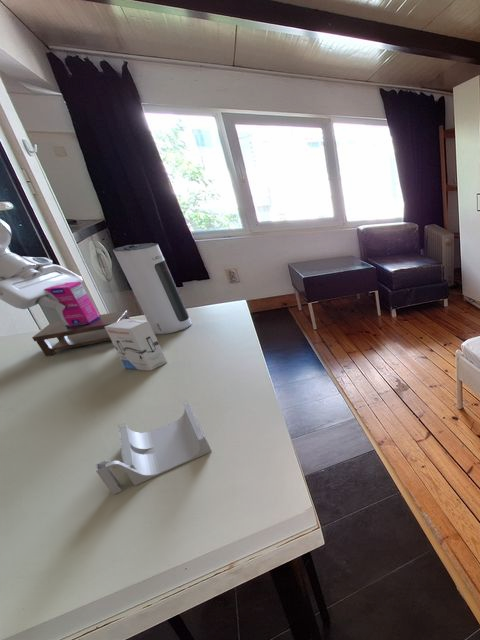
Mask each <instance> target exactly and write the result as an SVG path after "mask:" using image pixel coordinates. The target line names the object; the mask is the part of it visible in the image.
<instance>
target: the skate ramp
mask: <svg viewBox="0 0 480 640" xmlns="http://www.w3.org/2000/svg"><path fill="white" fill-rule="evenodd" d="M182 406H183V407H184V412H183V414H182V415H181V417H179V418H178V419H177V420H175V421H172V422H169V423H167V424H165V425H162V426H159V427H156V428H154V429H152V430H149V431H144V432H138V431H134V430H132V429H130V428H129V427H128V425H125V423H123V425H122V426H120V424H117V427H118V435H119V442H120V443H119V444H120V451H121V459H122V461H120V460H111V461H106V460H103V461H100V462H98V463H96V464H95V471H96V474H97V475H98V476H99V478H100V479H101V481H102V482H103V483H104V485H105V486H106V489H108V491H109V492H110V494H111V495H112V496H115V495H116V494H118V493H121V492H122V489H121V488H120V487H119V486H121V485H122V484H121V482H120V481H119V479H118V478H117V476H116V475H115V473H114V472H113V470H112V468H116V469H121V470H122V471H124V472H125V473H126V475H127V476H128V477H129V479H130V481H131V482H132V484H133V485H134V486H137V485H140V484H142V483H145V482H146V481H148V480H150V479H153V478H155V477H158V476H160V475H162V474H165V473H166V472H168V471H171V470H173V469H175V468H177V467H180V466H182V465H184V464H187V463H189V462H191V461H194V460H196V459H197V458H200V457H202V456H204V455H207V454H209V453H211V452H212V448H211V447H210V445H209V442H208V440H207V438H206V436H205V434H204V431H203V429H202V427H201V425H200V423H199V421H198V418H197V416H196V414H195V412H194V410H193V408H192V406H191V403H190V402H188V401H184V403H182Z"/></svg>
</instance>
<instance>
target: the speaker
mask: <svg viewBox="0 0 480 640" xmlns="http://www.w3.org/2000/svg"><path fill="white" fill-rule="evenodd" d="M112 252H113V253H114V255H115V257H116V260H117V262H118V263H119V266H120V268H121V270H122V272H123V274H124V276H125V278H126V280H127V282H128V284H129V287H130V288H131V290H132V293H133V294H134V296H135V299H136V300H137V303H138V305H139V306H140V309H141V310H142V313H143V314H144V317H145V319H146V321H148V322H149V323H150V326H151V328H152V330H153V332H154V334H155V335H169V334H174V333H177V332H180V331H183V330H186V329H188V328H189V327H191V326H192V325H193V322H192V320H191V317H190V316H189V313H188V310H187V308H186V306H185V304H184V302H183V299H182V297H181V294H180V292H179V290H178V287H177V286H176V283H175V281H174V278H173V276H172V274H171V271H170V269H169V267H168V264H167V261H166V259H165V257H164V255H163V253H162V251H161V248H160V246H159V244H158V243H153V242H150V243H139V244H127V245H123V246H120V247H116V248H114V249H113V250H112Z"/></svg>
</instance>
